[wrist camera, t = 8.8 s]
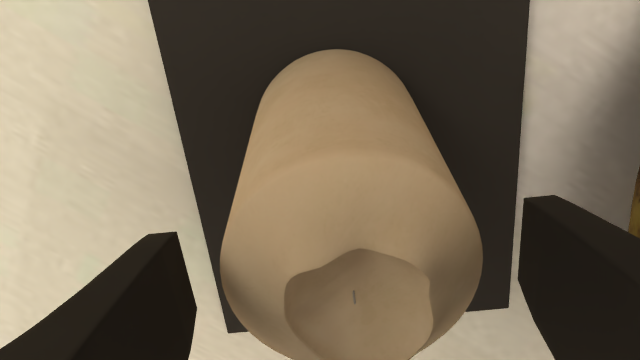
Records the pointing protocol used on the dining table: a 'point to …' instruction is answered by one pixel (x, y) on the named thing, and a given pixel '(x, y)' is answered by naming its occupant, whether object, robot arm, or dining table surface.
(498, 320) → the dining table surface
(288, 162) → the candle
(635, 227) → the potato
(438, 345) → the dining table surface
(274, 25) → the mat
